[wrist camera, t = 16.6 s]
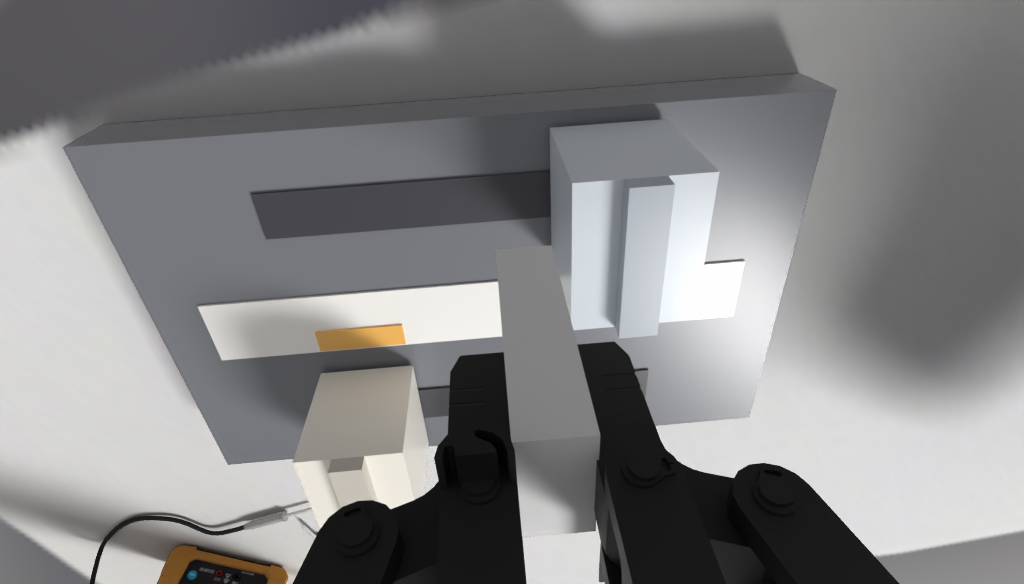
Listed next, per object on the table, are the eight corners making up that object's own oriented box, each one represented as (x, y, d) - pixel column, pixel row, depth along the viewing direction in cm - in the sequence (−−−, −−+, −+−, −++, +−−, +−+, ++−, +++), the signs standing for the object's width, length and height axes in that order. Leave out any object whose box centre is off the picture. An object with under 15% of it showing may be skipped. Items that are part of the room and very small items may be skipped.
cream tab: (412, 365, 24) (401, 466, 20) (428, 442, 27) (421, 546, 23) (320, 373, 24) (288, 476, 20) (346, 450, 27) (322, 555, 22)
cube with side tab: (666, 118, 19) (728, 180, 14) (653, 246, 22) (701, 331, 17) (549, 127, 19) (576, 192, 14) (551, 255, 22) (574, 342, 17)
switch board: (799, 73, 21) (839, 91, 19) (729, 382, 30) (750, 419, 28) (103, 124, 20) (59, 149, 18) (244, 426, 29) (226, 467, 27)
